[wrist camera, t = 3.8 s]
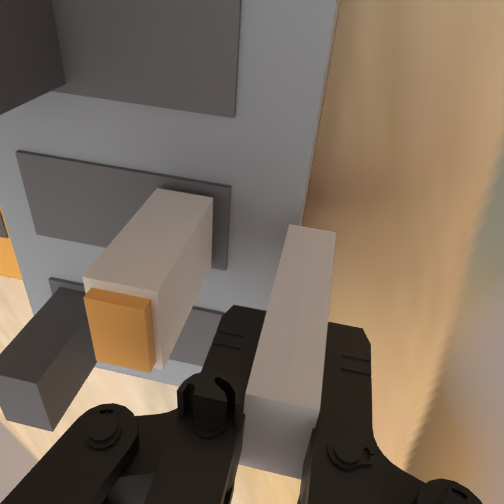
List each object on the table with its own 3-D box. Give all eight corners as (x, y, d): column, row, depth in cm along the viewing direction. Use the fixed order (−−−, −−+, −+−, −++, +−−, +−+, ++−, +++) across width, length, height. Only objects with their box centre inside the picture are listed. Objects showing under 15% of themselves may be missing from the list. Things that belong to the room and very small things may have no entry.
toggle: (157, 187, 15) (73, 286, 11) (213, 197, 15) (151, 302, 10) (161, 257, 17) (91, 366, 12) (211, 267, 16) (157, 381, 12)
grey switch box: (-6, -137, 14) (-375, -217, 7) (358, -107, 13) (353, -171, 6) (84, 305, 26) (-21, 442, 19) (280, 347, 25) (247, 511, 18)
